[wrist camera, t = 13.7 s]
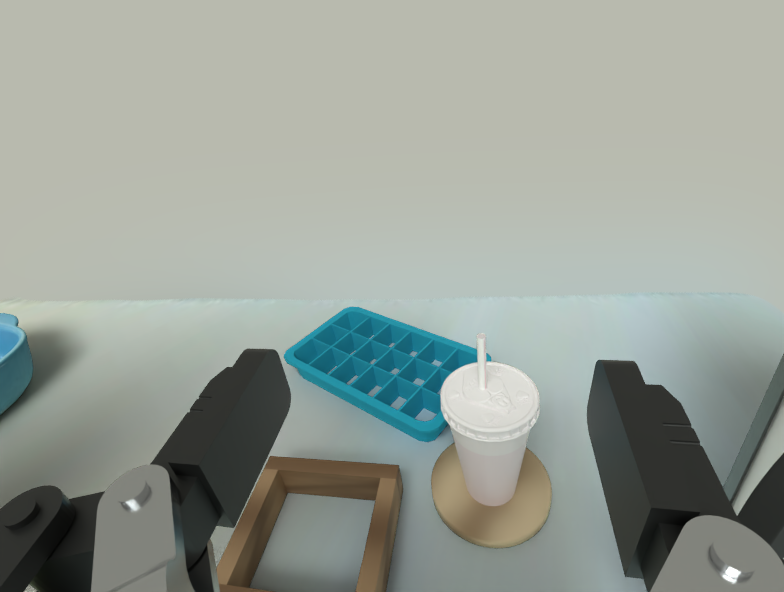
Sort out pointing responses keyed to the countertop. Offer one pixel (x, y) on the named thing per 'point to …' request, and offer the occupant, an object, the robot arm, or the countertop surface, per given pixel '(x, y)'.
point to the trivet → (492, 522)
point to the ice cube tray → (381, 367)
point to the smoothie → (490, 423)
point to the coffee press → (762, 470)
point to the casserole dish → (13, 361)
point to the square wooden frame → (322, 481)
